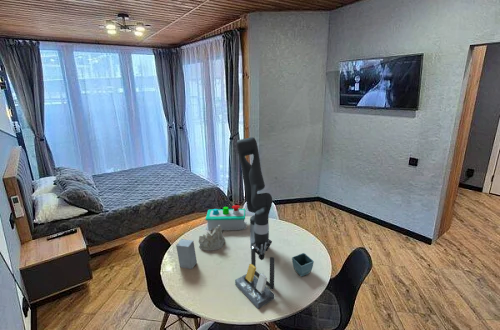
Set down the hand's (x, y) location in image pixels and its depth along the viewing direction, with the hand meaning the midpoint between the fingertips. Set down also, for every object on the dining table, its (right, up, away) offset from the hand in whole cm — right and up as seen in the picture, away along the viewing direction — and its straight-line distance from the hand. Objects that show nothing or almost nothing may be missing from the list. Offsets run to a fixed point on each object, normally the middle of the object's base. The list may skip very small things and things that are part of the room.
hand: (261, 258), depth 141 cm
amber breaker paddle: (-7, -10, -2) cm, 12 cm away
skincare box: (-43, -10, +16) cm, 47 cm away
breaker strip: (-4, -15, -4) cm, 16 cm away
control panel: (-24, +4, +58) cm, 63 cm away
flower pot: (+23, -11, +8) cm, 27 cm away
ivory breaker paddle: (-1, -12, -9) cm, 15 cm away
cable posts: (+1, -12, +4) cm, 13 cm away
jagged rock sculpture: (-31, -3, +37) cm, 49 cm away
